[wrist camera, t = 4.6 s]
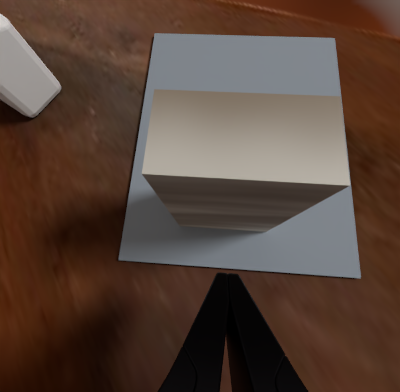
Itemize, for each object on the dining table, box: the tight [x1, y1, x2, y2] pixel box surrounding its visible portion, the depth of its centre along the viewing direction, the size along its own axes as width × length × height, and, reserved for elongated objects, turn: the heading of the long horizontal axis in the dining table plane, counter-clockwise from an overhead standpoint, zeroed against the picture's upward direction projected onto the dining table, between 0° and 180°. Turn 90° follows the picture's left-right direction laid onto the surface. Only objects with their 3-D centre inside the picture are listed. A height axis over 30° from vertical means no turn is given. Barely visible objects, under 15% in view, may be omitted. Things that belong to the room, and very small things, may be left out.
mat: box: [118, 33, 361, 278], centre depth 19 cm, size 20×16×1 cm
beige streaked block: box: [142, 89, 350, 232], centre depth 12 cm, size 3×6×10 cm, turn 86°
